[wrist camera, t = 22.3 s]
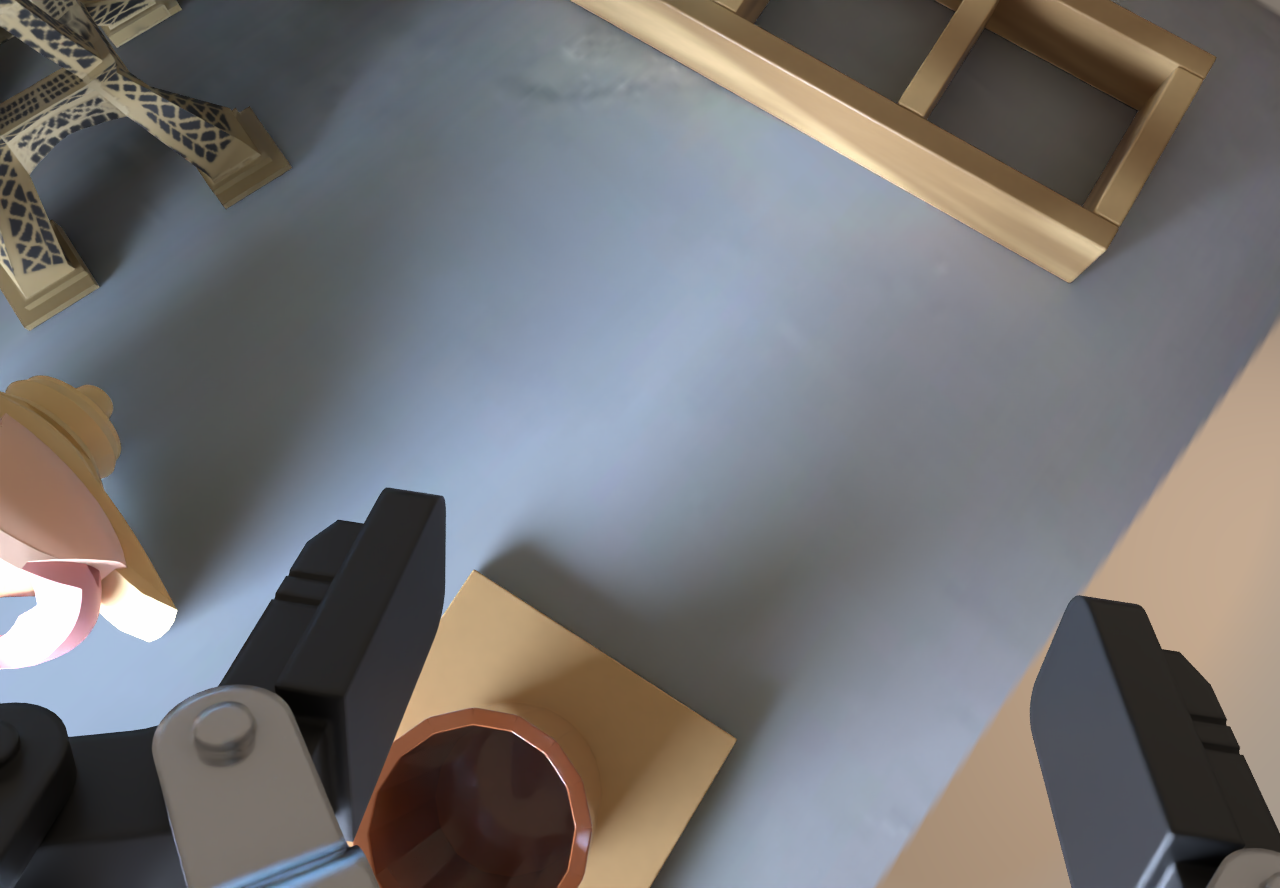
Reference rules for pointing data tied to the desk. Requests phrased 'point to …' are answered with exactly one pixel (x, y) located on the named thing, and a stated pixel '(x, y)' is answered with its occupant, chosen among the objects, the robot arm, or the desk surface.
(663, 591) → the desk surface
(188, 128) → the eiffel tower
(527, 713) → the brown cylindrical cup
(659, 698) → the coaster
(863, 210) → the desk surface
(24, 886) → the robot arm
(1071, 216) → the pod rack
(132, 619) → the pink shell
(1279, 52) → the desk surface
